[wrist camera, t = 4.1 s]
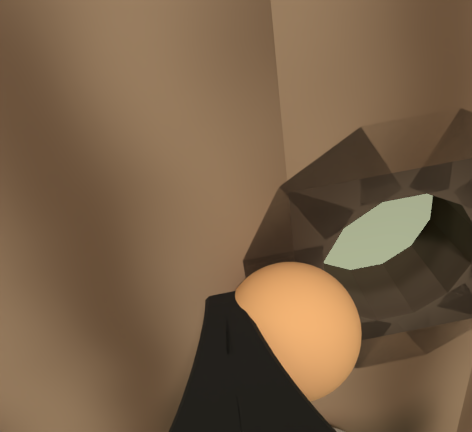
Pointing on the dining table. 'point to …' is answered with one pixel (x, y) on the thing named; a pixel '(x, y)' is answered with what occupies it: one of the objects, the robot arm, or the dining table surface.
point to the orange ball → (304, 323)
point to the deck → (227, 196)
